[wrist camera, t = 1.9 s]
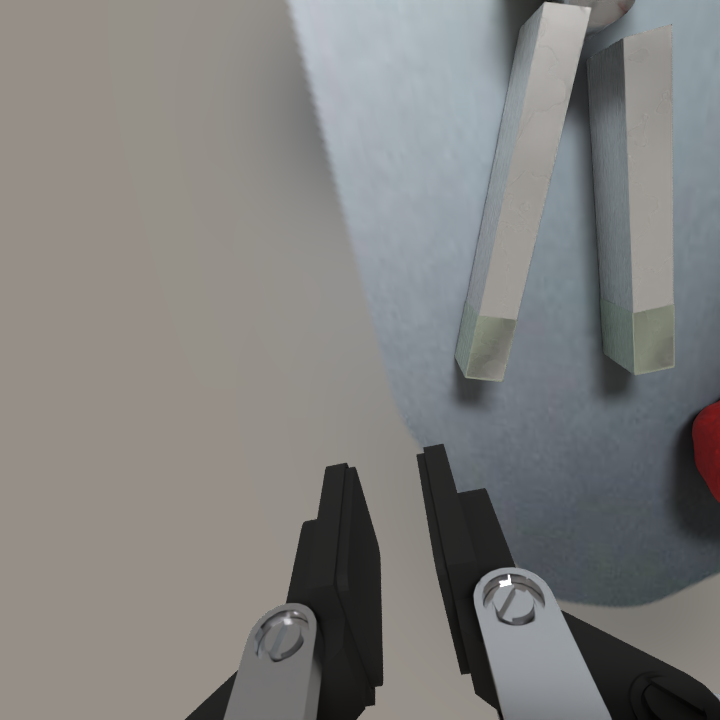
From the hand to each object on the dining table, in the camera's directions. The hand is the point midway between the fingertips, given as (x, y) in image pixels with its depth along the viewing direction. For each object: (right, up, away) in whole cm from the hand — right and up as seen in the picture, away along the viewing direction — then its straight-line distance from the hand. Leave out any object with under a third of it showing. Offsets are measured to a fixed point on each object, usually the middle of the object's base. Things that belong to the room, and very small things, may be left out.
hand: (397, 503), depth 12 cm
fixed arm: (+13, +12, +14) cm, 22 cm away
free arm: (+8, +13, +13) cm, 20 cm away
